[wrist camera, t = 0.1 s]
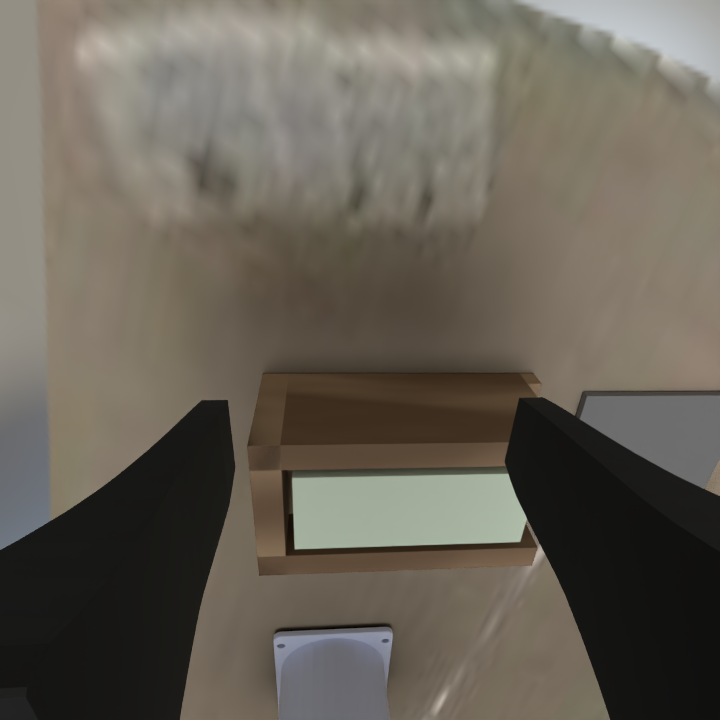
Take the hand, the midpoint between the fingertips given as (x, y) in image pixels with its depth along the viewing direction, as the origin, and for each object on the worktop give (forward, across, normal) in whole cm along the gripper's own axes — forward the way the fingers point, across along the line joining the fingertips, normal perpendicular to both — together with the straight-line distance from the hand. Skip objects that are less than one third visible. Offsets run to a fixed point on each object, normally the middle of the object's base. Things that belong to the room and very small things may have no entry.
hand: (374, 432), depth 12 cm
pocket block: (+10, -2, +8) cm, 13 cm away
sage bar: (+7, -2, +8) cm, 11 cm away
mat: (+10, -16, +10) cm, 22 cm away
